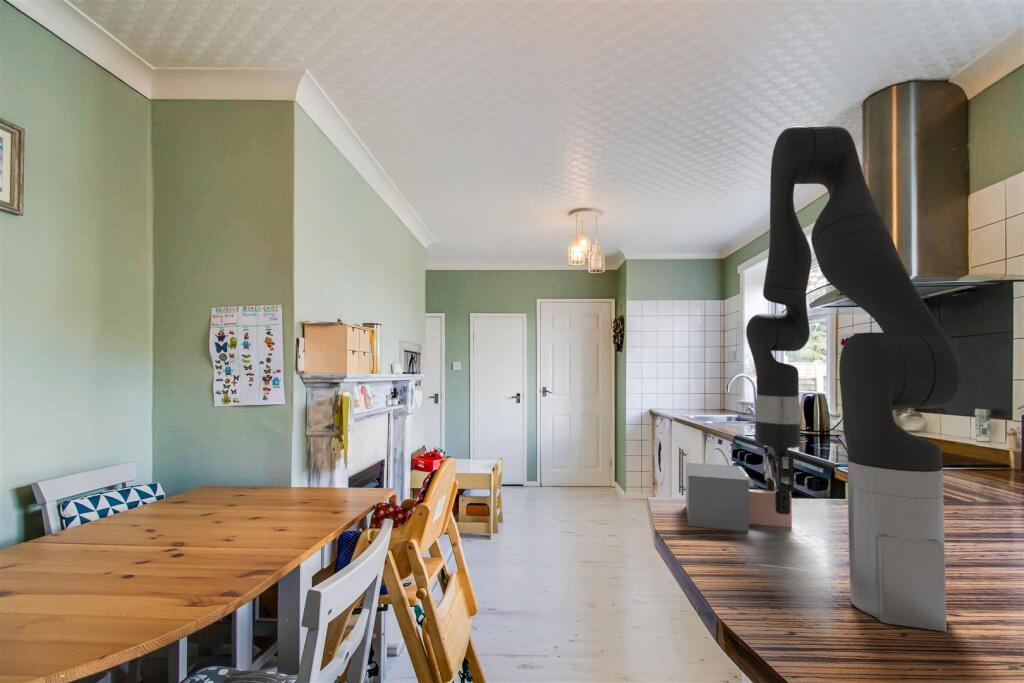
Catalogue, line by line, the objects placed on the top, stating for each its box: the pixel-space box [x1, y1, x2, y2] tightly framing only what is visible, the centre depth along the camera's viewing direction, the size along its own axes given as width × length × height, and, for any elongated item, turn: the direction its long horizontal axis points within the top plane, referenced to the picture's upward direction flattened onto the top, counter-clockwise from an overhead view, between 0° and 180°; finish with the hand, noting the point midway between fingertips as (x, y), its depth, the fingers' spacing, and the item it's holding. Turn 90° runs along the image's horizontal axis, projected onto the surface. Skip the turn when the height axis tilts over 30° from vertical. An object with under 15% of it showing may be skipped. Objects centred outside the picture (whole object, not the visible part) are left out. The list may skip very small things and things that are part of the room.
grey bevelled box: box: [685, 462, 755, 533], centre depth 97 cm, size 14×11×9 cm
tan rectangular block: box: [748, 488, 793, 529], centre depth 96 cm, size 2×16×6 cm, turn 73°
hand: (777, 507), depth 94 cm, fingers open, 8 cm apart
